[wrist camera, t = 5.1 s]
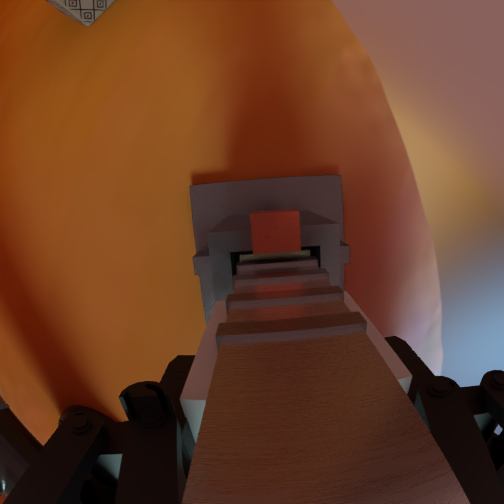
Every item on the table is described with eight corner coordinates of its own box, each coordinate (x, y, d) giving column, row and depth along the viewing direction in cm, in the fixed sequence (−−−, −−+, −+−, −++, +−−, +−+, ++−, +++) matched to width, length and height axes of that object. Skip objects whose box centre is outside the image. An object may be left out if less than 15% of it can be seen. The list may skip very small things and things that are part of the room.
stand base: (208, 321, 29) (178, 403, 17) (191, 185, 26) (135, 183, 14) (340, 312, 29) (385, 386, 16) (338, 175, 26) (401, 165, 13)
